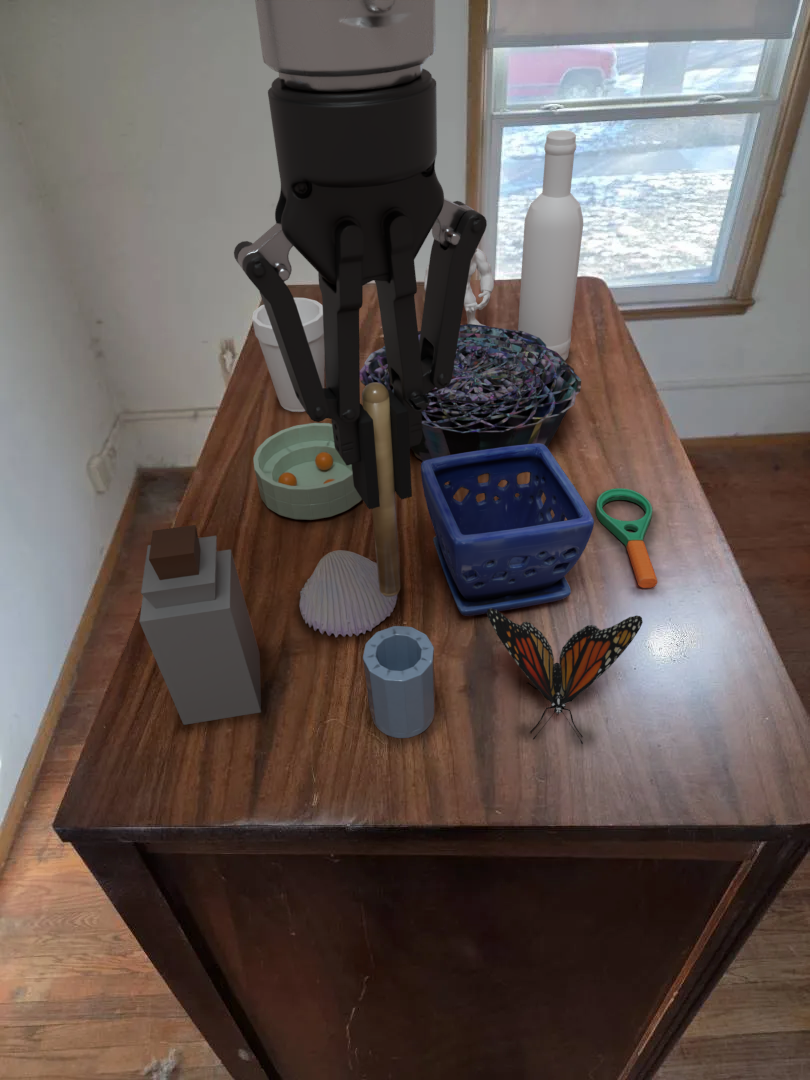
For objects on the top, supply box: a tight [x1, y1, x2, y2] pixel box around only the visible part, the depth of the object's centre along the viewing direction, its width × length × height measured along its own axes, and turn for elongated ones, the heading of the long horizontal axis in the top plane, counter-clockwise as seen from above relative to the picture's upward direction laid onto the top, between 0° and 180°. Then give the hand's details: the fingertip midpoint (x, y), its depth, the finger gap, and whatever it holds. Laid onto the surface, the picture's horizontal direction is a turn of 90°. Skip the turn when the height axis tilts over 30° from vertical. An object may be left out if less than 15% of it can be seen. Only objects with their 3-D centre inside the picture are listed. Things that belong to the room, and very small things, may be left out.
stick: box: [361, 382, 402, 597], centre depth 49 cm, size 2×2×18 cm
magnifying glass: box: [595, 487, 659, 589], centre depth 79 cm, size 15×6×2 cm, turn 179°
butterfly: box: [486, 608, 644, 745], centre depth 61 cm, size 12×10×10 cm
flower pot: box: [420, 443, 595, 617], centre depth 72 cm, size 13×13×12 cm
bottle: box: [517, 129, 584, 361], centre depth 101 cm, size 8×8×30 cm
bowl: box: [252, 422, 363, 521], centre depth 87 cm, size 13×13×5 cm
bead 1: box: [278, 472, 297, 486], centre depth 87 cm, size 2×2×2 cm
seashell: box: [298, 549, 398, 638], centre depth 74 cm, size 10×6×10 cm
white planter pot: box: [251, 297, 325, 413], centre depth 100 cm, size 10×9×13 cm
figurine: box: [423, 247, 495, 326], centre depth 113 cm, size 11×7×15 cm, turn 90°
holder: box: [362, 625, 436, 739], centre depth 62 cm, size 6×6×8 cm
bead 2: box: [315, 452, 333, 470], centre depth 90 cm, size 2×2×2 cm
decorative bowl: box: [360, 324, 582, 462], centre depth 94 cm, size 26×28×10 cm
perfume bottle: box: [139, 524, 262, 726], centre depth 61 cm, size 7×7×18 cm
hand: (382, 490), depth 48 cm, fingers closed on stick, 1 cm apart
